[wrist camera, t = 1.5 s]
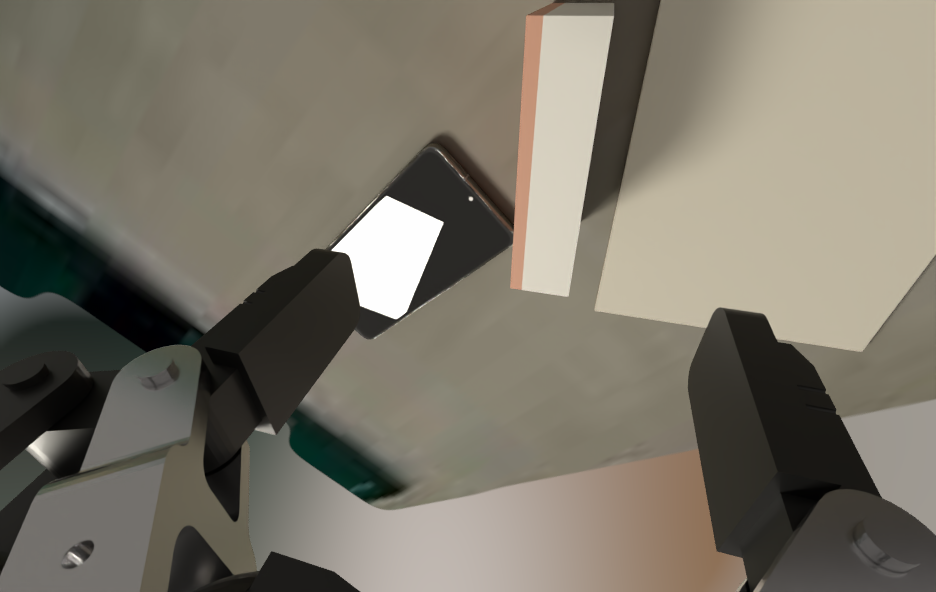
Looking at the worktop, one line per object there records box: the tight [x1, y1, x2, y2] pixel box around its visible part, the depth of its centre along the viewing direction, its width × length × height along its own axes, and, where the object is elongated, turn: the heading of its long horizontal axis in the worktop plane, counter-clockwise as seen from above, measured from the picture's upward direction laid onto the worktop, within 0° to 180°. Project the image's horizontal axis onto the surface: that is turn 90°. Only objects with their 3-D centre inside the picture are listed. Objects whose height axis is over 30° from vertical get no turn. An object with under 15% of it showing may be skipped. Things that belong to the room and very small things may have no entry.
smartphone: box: [326, 143, 514, 339], centre depth 28 cm, size 7×1×16 cm
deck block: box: [510, 3, 614, 297], centre depth 18 cm, size 10×2×7 cm, turn 1°
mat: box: [595, 0, 936, 352], centre depth 19 cm, size 17×14×1 cm
